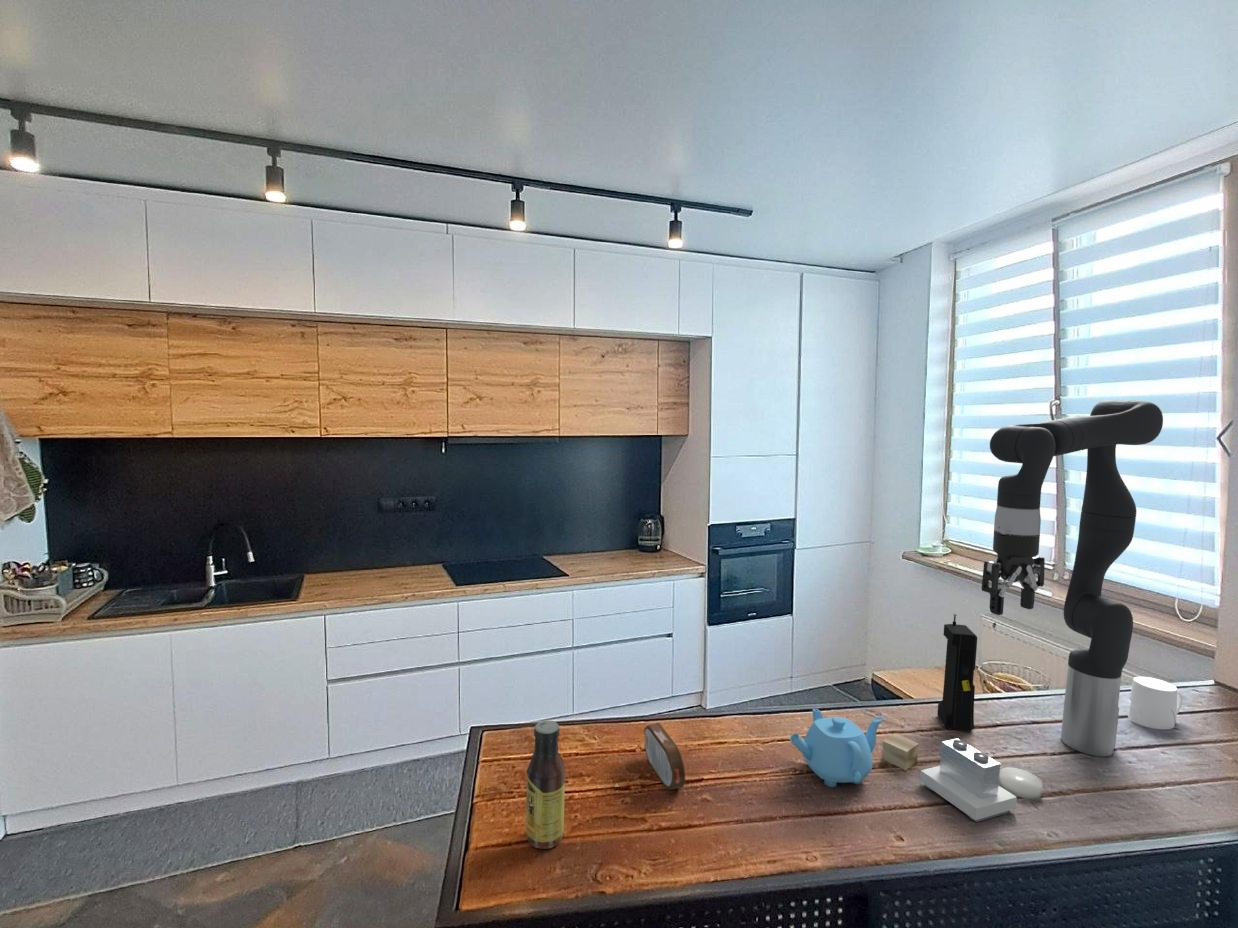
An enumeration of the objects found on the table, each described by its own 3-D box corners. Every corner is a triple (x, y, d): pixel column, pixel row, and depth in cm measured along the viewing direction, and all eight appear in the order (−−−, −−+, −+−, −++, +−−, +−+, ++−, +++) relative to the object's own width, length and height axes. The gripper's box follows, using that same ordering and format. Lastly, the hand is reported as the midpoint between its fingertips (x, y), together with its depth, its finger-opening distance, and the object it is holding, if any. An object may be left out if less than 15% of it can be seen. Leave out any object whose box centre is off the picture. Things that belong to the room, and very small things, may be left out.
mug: (1154, 691, 142) (1121, 676, 150) (1150, 730, 143) (1117, 713, 151) (1199, 689, 144) (1164, 674, 151) (1194, 728, 144) (1160, 711, 152)
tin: (685, 797, 114) (687, 753, 114) (670, 800, 113) (671, 756, 112) (655, 753, 128) (656, 714, 128) (640, 755, 127) (642, 716, 127)
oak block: (893, 751, 132) (895, 733, 131) (917, 761, 128) (918, 743, 127) (881, 759, 129) (883, 740, 128) (905, 770, 125) (906, 751, 124)
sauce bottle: (527, 826, 105) (528, 714, 103) (564, 825, 106) (565, 713, 104) (524, 854, 99) (525, 735, 97) (563, 852, 99) (565, 734, 97)
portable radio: (976, 734, 139) (985, 626, 137) (947, 731, 140) (955, 624, 138) (964, 717, 147) (972, 615, 144) (936, 714, 148) (944, 612, 145)
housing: (954, 767, 121) (957, 735, 120) (997, 794, 112) (1000, 760, 112) (939, 771, 119) (942, 738, 119) (981, 799, 111) (984, 764, 110)
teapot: (813, 744, 133) (816, 694, 132) (880, 768, 125) (884, 714, 124) (786, 778, 121) (789, 722, 120) (858, 806, 113) (862, 747, 112)
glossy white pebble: (1015, 773, 124) (1016, 764, 124) (1050, 794, 118) (1051, 784, 117) (990, 780, 122) (991, 771, 121) (1024, 802, 115) (1025, 792, 115)
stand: (957, 775, 123) (959, 760, 123) (1015, 812, 112) (1016, 796, 112) (919, 784, 120) (920, 770, 119) (975, 824, 109) (976, 808, 108)
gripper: (1023, 523, 126) (1018, 600, 128) (972, 528, 121) (968, 609, 122) (1061, 530, 119) (1055, 612, 121) (1009, 536, 114) (1004, 622, 115)
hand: (1011, 610), depth 122 cm, fingers open, 8 cm apart
